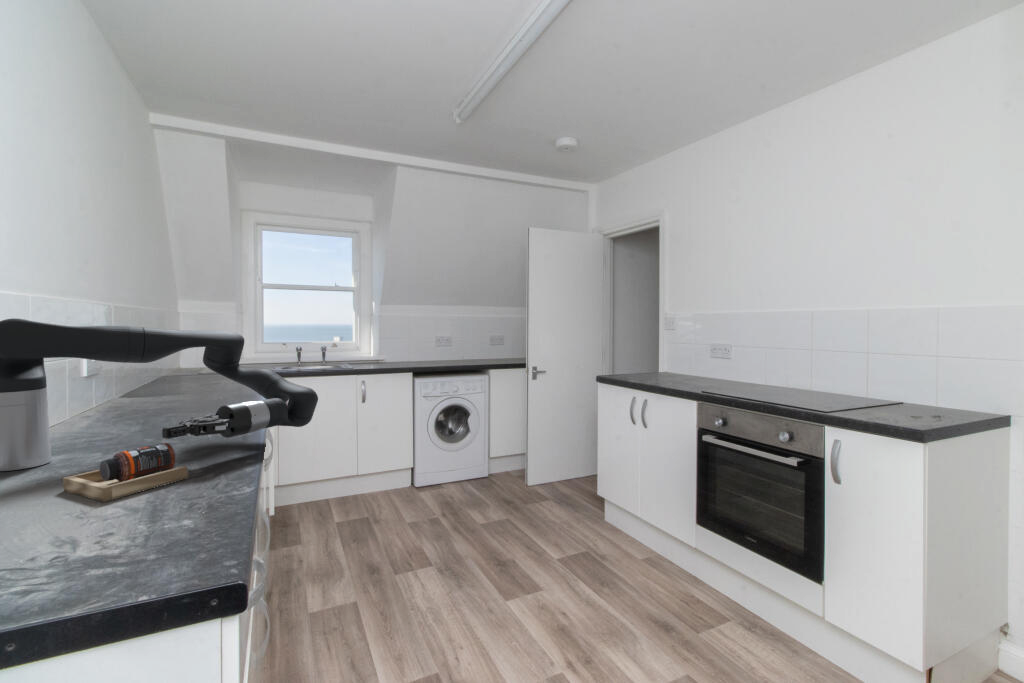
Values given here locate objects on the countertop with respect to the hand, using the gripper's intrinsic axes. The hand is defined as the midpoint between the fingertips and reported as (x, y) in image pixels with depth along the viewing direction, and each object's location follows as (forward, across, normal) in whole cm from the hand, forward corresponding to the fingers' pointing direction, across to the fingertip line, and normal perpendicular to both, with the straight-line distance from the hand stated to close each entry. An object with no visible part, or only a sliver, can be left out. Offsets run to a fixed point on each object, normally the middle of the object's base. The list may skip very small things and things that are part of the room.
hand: (164, 433), depth 101 cm
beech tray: (+7, 0, +8) cm, 11 cm away
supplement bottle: (-1, -1, +5) cm, 5 cm away
